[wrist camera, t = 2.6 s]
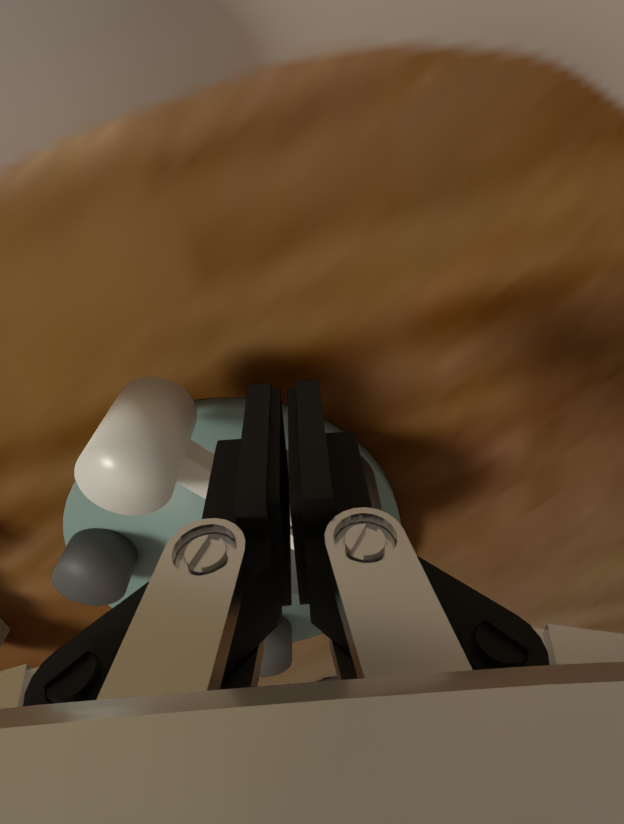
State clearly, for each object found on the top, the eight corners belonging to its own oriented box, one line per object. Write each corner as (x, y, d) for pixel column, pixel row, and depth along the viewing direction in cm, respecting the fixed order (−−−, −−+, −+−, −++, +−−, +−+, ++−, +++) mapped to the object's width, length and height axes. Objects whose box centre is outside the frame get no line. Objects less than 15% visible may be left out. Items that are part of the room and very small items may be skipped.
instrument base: (462, 521, 26) (483, 572, 24) (262, 656, 33) (259, 708, 30) (200, 322, 20) (183, 359, 17) (17, 544, 27) (-18, 598, 24)
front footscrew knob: (399, 484, 23) (428, 587, 18) (321, 544, 25) (327, 650, 20) (175, 317, 18) (128, 395, 13) (102, 410, 20) (38, 507, 15)
